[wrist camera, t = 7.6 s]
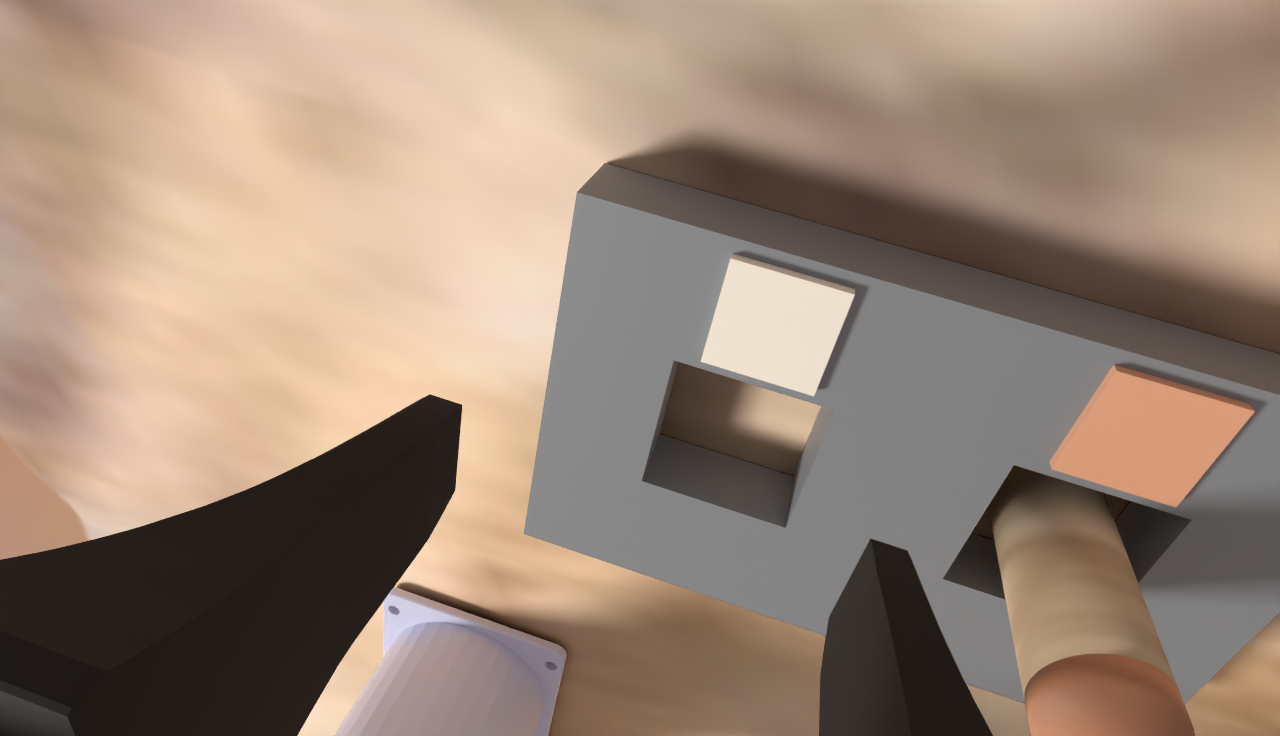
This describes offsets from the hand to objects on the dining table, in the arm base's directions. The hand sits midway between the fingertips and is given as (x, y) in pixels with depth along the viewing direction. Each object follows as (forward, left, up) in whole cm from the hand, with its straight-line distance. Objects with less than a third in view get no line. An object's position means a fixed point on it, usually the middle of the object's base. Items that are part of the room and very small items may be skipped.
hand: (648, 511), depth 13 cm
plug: (-4, -10, -10) cm, 15 cm away
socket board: (-4, -6, -10) cm, 12 cm away
